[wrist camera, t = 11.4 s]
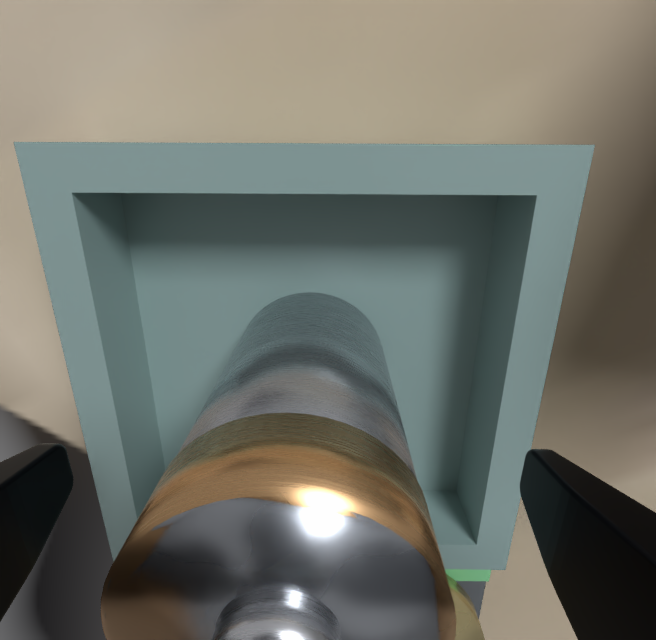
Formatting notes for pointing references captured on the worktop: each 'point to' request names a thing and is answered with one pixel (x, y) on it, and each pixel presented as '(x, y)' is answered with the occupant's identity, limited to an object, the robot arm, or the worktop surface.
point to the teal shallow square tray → (318, 277)
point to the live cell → (288, 501)
